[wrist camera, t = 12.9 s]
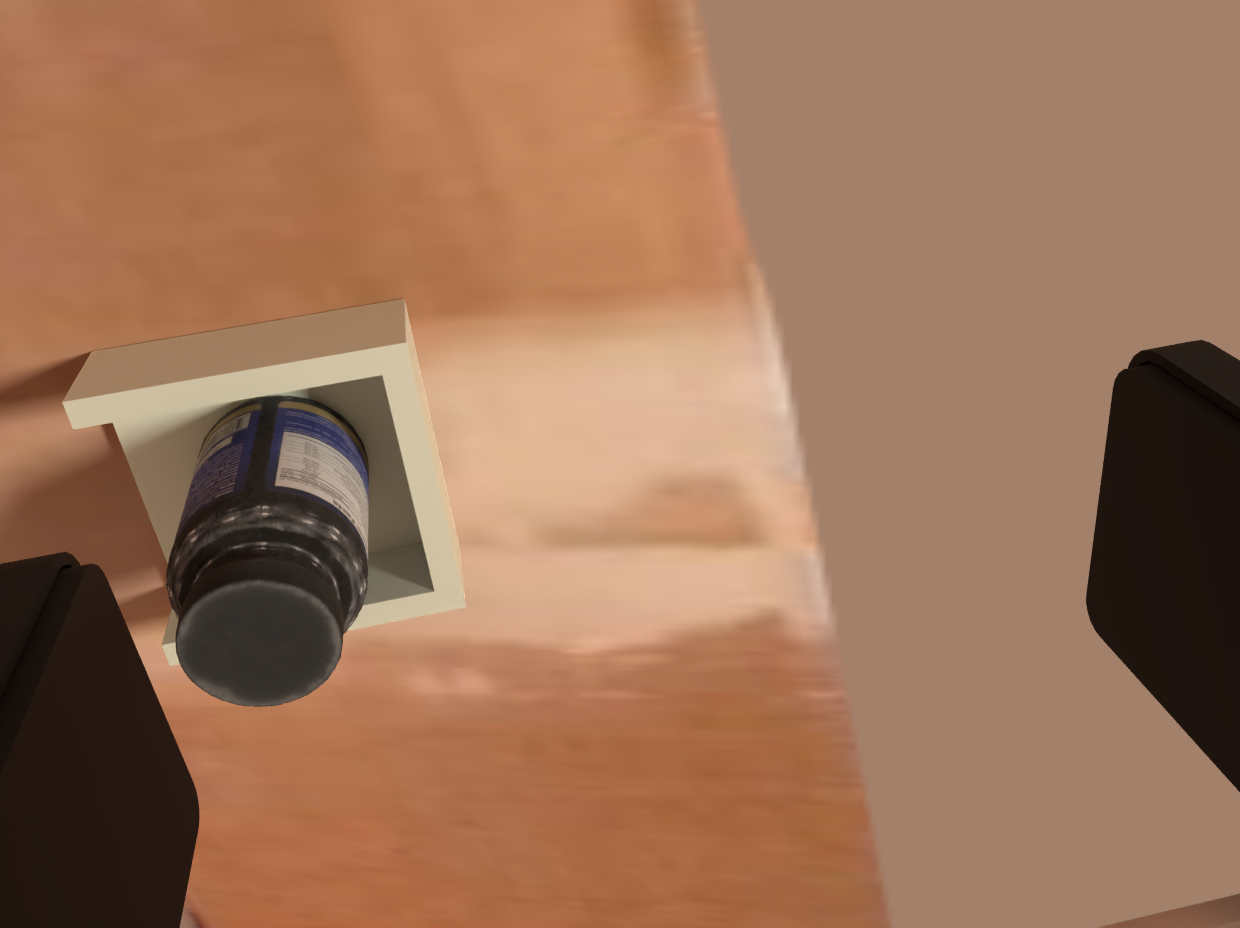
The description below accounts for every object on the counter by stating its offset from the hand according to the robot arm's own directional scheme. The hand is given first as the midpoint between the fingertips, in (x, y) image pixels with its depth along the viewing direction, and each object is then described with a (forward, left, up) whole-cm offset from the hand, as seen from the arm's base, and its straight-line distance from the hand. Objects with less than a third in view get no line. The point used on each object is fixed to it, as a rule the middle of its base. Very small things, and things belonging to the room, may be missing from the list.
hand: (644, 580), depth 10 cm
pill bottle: (+13, -9, -30) cm, 34 cm away
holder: (+14, -9, -30) cm, 34 cm away
